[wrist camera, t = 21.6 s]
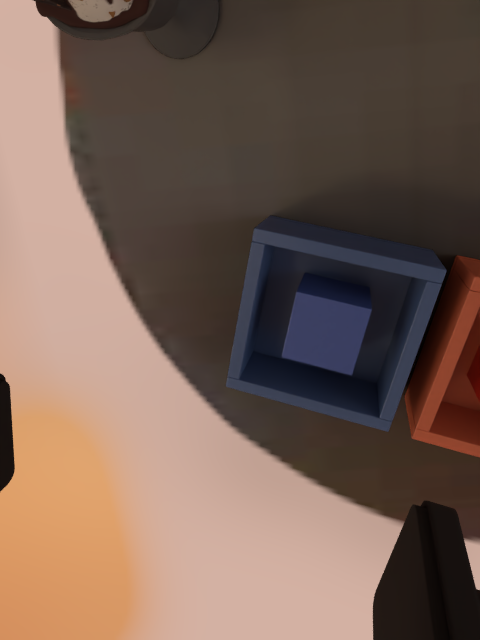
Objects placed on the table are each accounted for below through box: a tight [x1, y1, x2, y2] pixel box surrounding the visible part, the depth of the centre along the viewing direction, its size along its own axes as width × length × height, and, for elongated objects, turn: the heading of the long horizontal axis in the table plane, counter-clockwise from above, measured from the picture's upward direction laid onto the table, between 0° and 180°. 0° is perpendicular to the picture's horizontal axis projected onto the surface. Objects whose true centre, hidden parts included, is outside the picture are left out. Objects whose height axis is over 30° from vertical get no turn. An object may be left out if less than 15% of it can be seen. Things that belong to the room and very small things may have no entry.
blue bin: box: [226, 216, 447, 432], centre depth 29 cm, size 11×11×5 cm
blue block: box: [282, 273, 372, 375], centre depth 29 cm, size 4×4×4 cm
